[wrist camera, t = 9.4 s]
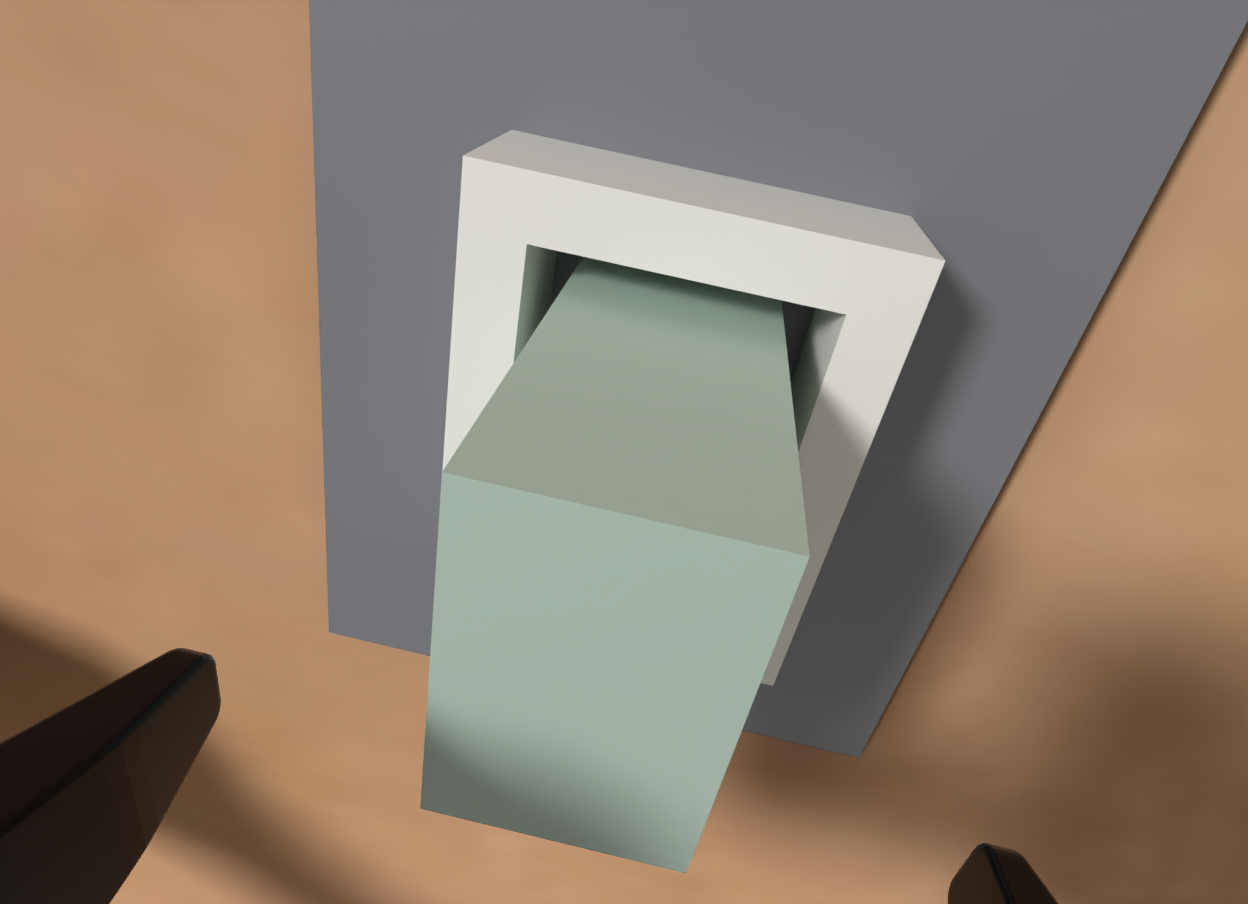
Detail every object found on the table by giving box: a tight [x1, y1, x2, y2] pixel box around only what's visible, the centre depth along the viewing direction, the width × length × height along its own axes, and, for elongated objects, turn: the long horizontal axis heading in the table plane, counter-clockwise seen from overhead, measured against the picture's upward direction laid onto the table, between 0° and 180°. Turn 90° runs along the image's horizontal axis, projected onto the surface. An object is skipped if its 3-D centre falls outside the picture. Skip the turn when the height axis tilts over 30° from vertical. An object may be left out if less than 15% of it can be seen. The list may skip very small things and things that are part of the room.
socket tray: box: [309, 0, 1248, 758], centre depth 16 cm, size 20×16×4 cm
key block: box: [420, 257, 810, 873], centre depth 14 cm, size 4×6×9 cm, turn 170°
